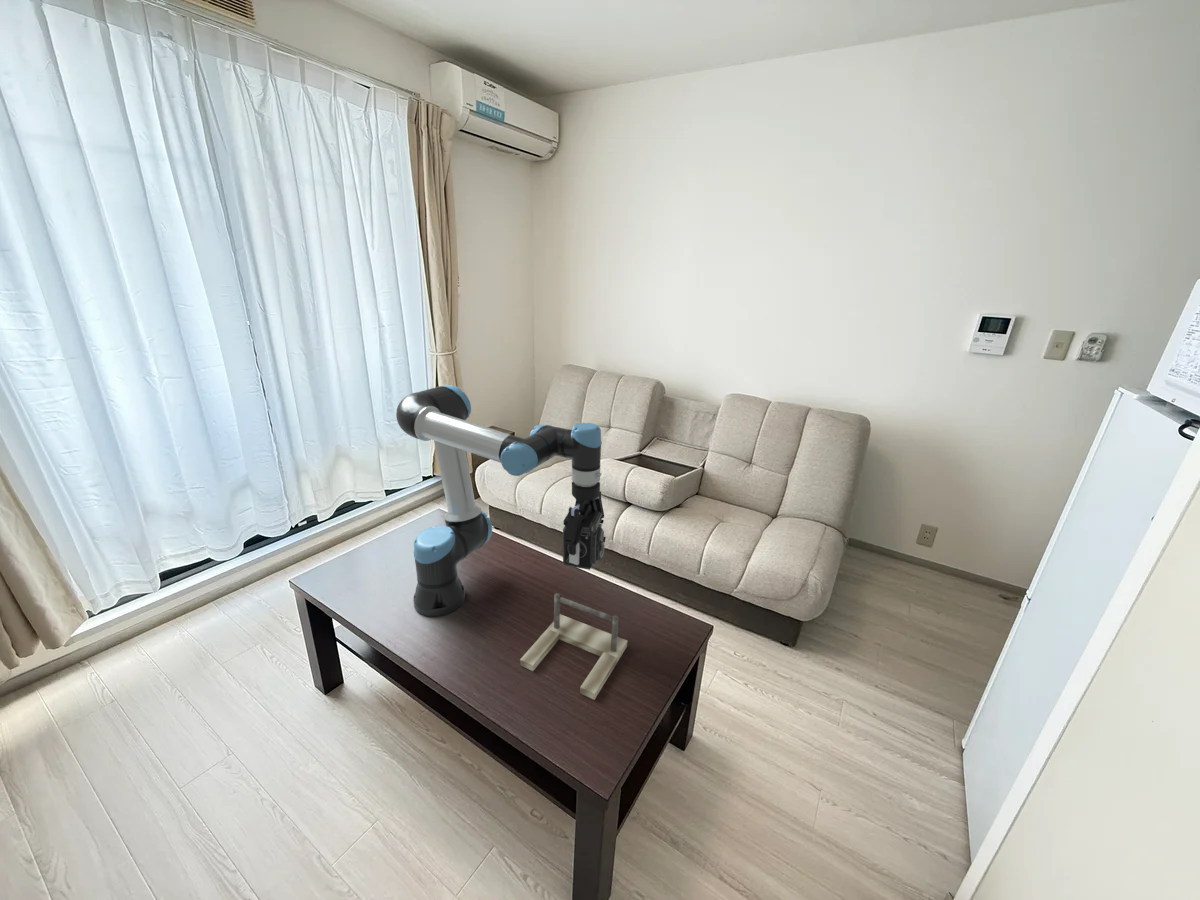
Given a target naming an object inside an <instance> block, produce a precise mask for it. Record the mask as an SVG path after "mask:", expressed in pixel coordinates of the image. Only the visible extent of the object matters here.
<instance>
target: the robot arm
mask: <svg viewBox="0 0 1200 900" xmlns="http://www.w3.org/2000/svg"><path fill="white" fill-rule="evenodd" d="M395 413H396V416H395V417H396V421H397V423H398V425H399V427H400V429H401V431H403V432H404V433H405V434H406V435H409V436H410V437H412V438H414V439H416V440H420V441H422V442H423V441H424V442H428V441H433V444H434V448H435V454H436V457H437V463H438V467H439V473H440V478H441V482H442V487H443V488H442V489H443V492H444V497H445V502H446V507H447V512H446V513H445V514H444V517H443V518H444V522H445V523H444V524H445V525H435V526H434V527H432V526H431V527H428V528H426V529H424V530H422V531H421V532H420V533H419V534H417V536H416V537H415V539H414V542H413V559H414V565H415V570H416V572H415V573H416V581H417V583H416V587H415V592H414V594H413V595H414V596H413V606H414V609H415V611H416V612H417V613H419V614H420V615H422V616H425V617H426V616H427V617H440V616H445V615H448V614H451V613H453V612H455V611H456V610H458V609H459V608H460V607H461V606H462V605H463V604H464V602H465V599H466V590H465V587H464V585H463V582H462V581H461V579H460V577H459V575H458V564H459V563H460V562H461V561H463V560H464V559H466V558H467V557H468V556H470V555H471V554H472V553H474V552H476V551H477V550H479V549H481V548H482V547H483V546H484V545H485V544H486V543H487V542H488V541H489V540H490V539H491V537H492V534H493V525H492V521H491V518H490V517H488V515H487V513H486V512H484V511H482V508H481V507H480V506H478V505H477V504H476V501H475V495H474V489H473V483H472V479H471V473H470V467H469V462H468V457H467V452H468V453H471V454H473V455H476V456H479V457H482V458H484V459H488V460H491V461H495V462H497V463H500V464H501V466H502V468H503V469H504V470H505V471H506V472H507V473H508V474H509V475H511V476H514V477H520V476H522V475H524V474H528V473H530V472H531V471H533V470H534V469H536V468H537V467H539V466H541V465H543V464H544V463H546V462H547V461H549V460H551V459H552V458H554V457H560V458H564V459H571V495H572V496H573V498H574V499H575V504H574V507H571V506H569V508H568V513H569V517H568V522H567V528H566V533H565V539H564V544H567V545H569V563H572V564H575V565H579V543H578V539H579V536H580V533H581V529H582V522H583V521H584V520H586V518H587V515H588V513H590V512H591V511H593V512H595V511H597V512H600V513H601V514H602V520H601V522H600V524H602V525H603V524H604V518H605V512H604V507H603V503H602V502H603V501H602V491H601V482H600V480H601V476H602V473H601V455H602V454H601V453H602V443H603V442H602V430H601V427H600V426H599V425H597V424H595V423H592V422H579V423H575V424H574V425H573V426H572V428H571V429H570V428H569V429H568V428H563V427H558V426H552V425H549V424H536V425H535V426H534V427H533V428H532V430H530V433H529V436H527V437H524V438H523V437H520V436H516V435H513V434H510V433H506V432H503V431H500V430H496V429H494V428H491V427H488V426H485V425H481V424H478V423H474V422H472V421H469V420H467V419H468V418H469V417H470V415H471V413H472V404H471V401H470V399H469V397H468V395H467V394H466V393H465V392H464V391H463V390H462V389H461V388H460V387H457V386H455V385H451V384H448V385H441V386H435V387H432V388H428V389H425V390H421V391H418V392H417V391H416V392H412V393H410V394H408V395H406V396H404V397H403V398H402V399H401V400H400V401H399V403H398V405H397V408H396V412H395ZM579 514H580V515H583V516H579Z"/></svg>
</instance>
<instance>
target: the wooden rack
mask: <svg viewBox="0 0 1200 900" xmlns="http://www.w3.org/2000/svg"><path fill="white" fill-rule="evenodd" d="M553 599H554V600H553V601H554V602H553V603H554V604H553V608H554V609H553V610H554V611H553V621H552V622H551V623H550V625H549V626H548V627H547V629H546V630H545V631H543V633H541V635H540V636H539V637H538V639H537V640H536V641H535V642H534V643H533V645H531V646H530V647H529V648H528V650H527V651H526V652H525V653H524V654H523V656H522V657H521V658H520V659H519V666H520V667H523V668H525V669H527V670H528V671H529V670H530V671H531V672H534V671H535V669H536V668H537V667H538V666H539V665H540V663H541V662H542V661H543V660H544V659H545V657H546V656H547V655H548V654H549V652H550V651H551V650H552V649H553V647H554V646H555V645H556V644H557V642H558V641H559V640H560V641H563V642H565V643H567V644H569V645H572V646H574V647H577V648H579V649H581V650H584V651H586V652H587V653H588V652H589V653H591V654H593V655H596V656H597V657H599V658H598V660H597V662H596V663H595V664H594V665H593V667H592V669H591V671H590V672H589V674H588V675H587V676H586V678H585V679H584V681H583V682H582V684H581V685H580V687H579V688H580V689H579V693H580V695H583V696H585V697H587V698H589V699H591V700H594V701H595V700H596V698H597V696H598V695H599V694H600V692H601V690H602V689H603V687H604V685H605V684H606V681H607V680H608V678H609V677H610V676H611V673H612V672H613V670H614V669H615V667H616V665H617V664H618V662H619V660H620V659H621V657H622V656H623V653H625V650H626V649H627V647H628V640H627V639H624V638H621V637H620V636H618V633H619V632H618V631H619V615H617V614H614V615H610V614H609V613H605V612H603V611H600V610H597V609H594V608H592V607H590V606H587V605H584V604H582V603H579V602H576V601H574V600H571V599H569V598H568V599H567V598H565V597H562V596H561V594H560V593H559V592H557V593H554V597H553ZM561 604H564V605H567V606H569V607H572V608H575V609H577V610H579V611H582V612H585V613H587V614H590V615H592V616H596V617H598V618H600V619H603V620H606V621H609V622H612V623H611V633H609V632H608V631H604V630H602V629H600V628H597V627H594V626H592V625H589V624H586V623H584V622H581V621H579V620H577V619H573V618H571V617H569V616H565V615H563V614H561V612H560V611H561Z"/></svg>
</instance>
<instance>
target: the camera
mask: <svg viewBox="0 0 1200 900" xmlns="http://www.w3.org/2000/svg"><path fill="white" fill-rule="evenodd" d="M579 516H583V515H580V514H579ZM568 517H569V512H567V514H566V516H565V517H564V519H563V525H564V527H562V564H563V565H564V566H565V567H572V568H576V569H577V568H578V569H583V570H588V571H590V570H591V568H592V566H593V564H594V565H597V562H598V561H600V560H601V558H603V557H604V553H605V547H606V544H605V542H606V536H605V530H604V529H603V527H602V525H603V524H601V523H600V522H601V520H603V518H602V514H601V513H600V512H597V511H595V512H593V511H591V512H590V513H588V515H587V518H586V520H584V521H583V522H582V529H581V533H580V536H579V539H578V543H579V565H575V564H572V563H569V545H567V544H564V539H565V533H566V528H567V522H568Z"/></svg>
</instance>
